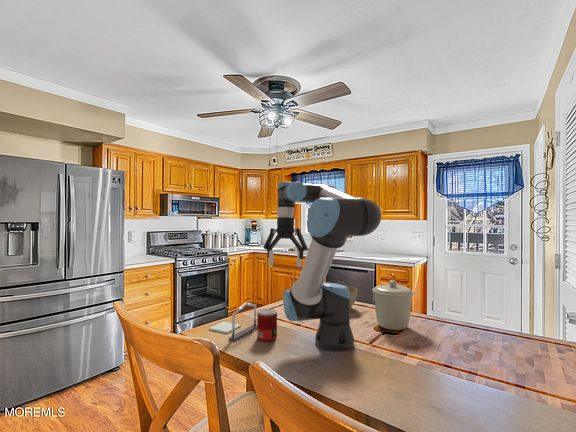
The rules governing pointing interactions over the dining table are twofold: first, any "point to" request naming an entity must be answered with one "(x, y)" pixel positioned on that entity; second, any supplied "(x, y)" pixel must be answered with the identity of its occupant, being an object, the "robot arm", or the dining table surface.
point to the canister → (393, 305)
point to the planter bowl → (352, 295)
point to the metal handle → (245, 331)
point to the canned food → (267, 325)
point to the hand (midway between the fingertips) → (284, 266)
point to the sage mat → (223, 327)
